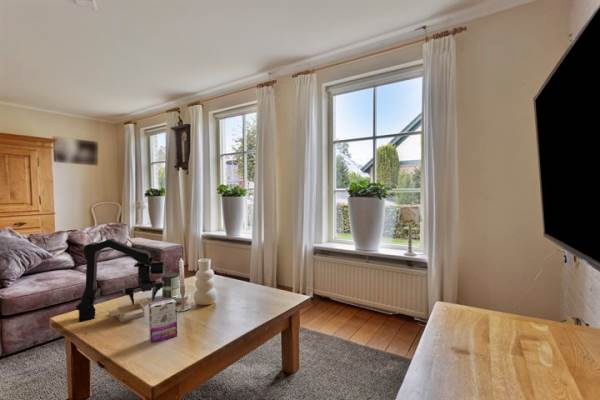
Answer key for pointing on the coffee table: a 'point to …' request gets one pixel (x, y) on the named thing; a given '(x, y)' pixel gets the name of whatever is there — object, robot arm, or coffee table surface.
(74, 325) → the coffee table surface
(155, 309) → the candy bar box
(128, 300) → the flap left
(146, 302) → the flap far
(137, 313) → the carton
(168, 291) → the coffee can
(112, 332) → the coffee table surface
